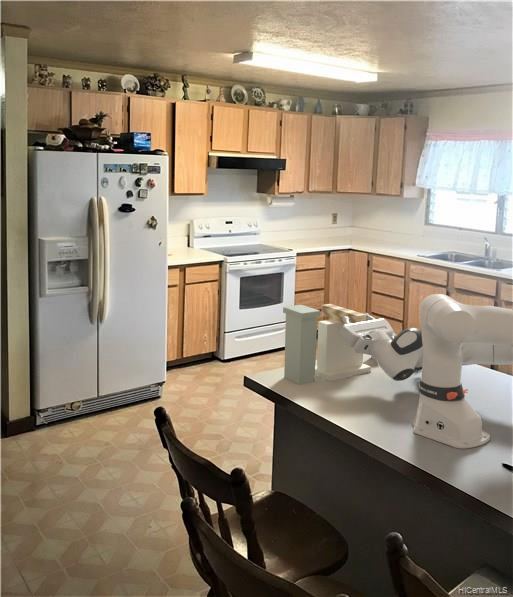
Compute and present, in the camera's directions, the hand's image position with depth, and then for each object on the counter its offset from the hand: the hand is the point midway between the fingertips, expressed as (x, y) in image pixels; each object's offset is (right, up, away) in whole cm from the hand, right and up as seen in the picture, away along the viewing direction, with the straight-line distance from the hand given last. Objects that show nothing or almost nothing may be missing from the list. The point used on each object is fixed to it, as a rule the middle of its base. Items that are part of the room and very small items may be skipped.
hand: (354, 315), depth 229 cm
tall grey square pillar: (-20, -23, +2) cm, 30 cm away
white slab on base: (-4, -21, +10) cm, 24 cm away
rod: (-3, -2, +6) cm, 7 cm away
